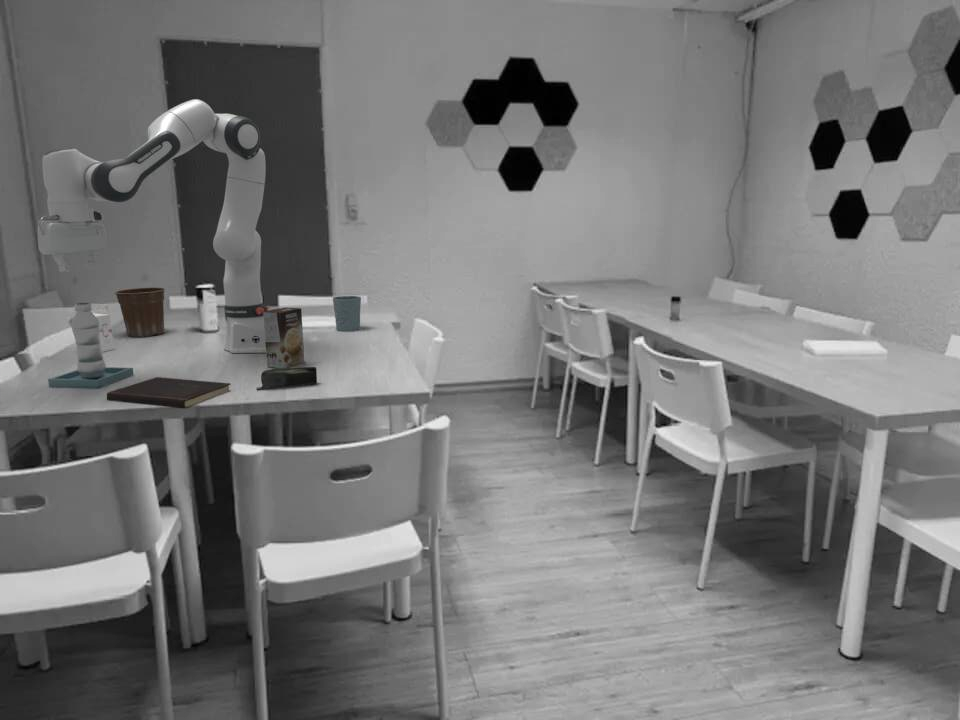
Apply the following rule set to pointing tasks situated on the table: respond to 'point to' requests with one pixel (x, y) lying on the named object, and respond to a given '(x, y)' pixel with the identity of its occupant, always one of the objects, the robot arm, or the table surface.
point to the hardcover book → (168, 392)
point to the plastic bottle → (87, 342)
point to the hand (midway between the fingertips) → (77, 269)
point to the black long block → (288, 377)
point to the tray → (76, 381)
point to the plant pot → (142, 311)
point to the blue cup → (347, 313)
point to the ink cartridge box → (104, 327)
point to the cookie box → (284, 337)
